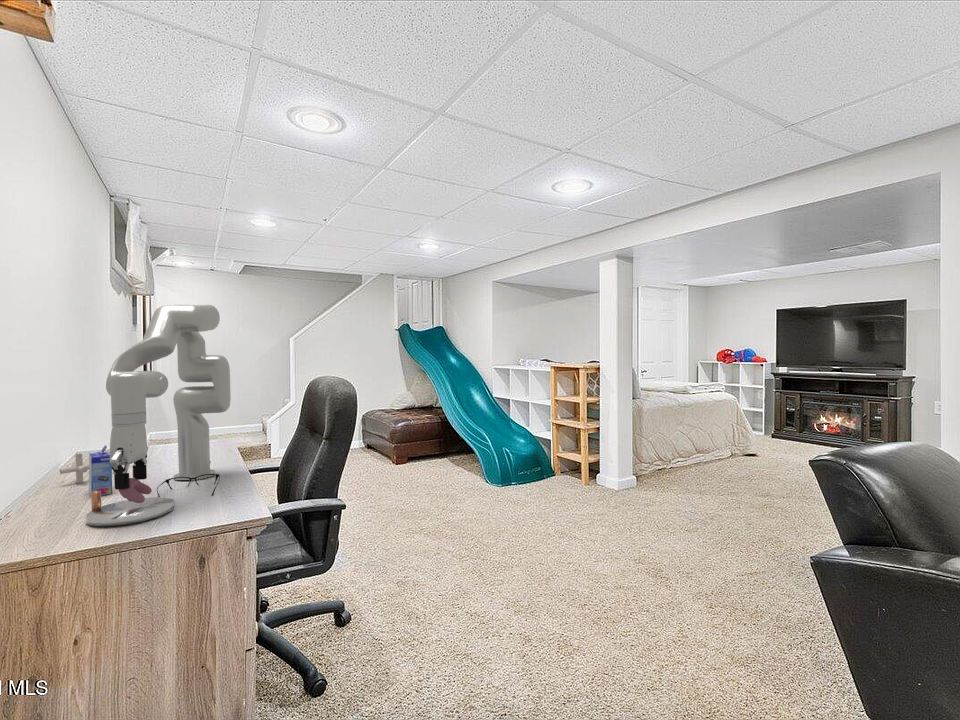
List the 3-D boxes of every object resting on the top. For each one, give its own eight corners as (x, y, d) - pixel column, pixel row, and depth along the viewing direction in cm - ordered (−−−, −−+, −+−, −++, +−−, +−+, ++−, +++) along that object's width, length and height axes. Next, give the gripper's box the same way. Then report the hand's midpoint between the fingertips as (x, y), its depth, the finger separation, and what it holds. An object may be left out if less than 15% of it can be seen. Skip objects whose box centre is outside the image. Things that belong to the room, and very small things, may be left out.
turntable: (111, 505, 138) (110, 482, 138) (185, 500, 142) (184, 478, 141) (68, 529, 119) (67, 502, 119) (154, 522, 123) (153, 497, 123)
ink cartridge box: (113, 494, 151) (112, 447, 151) (91, 497, 147) (89, 450, 147) (110, 487, 158) (109, 443, 158) (88, 491, 155) (87, 445, 154)
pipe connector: (92, 477, 172) (91, 449, 172) (103, 481, 166) (102, 452, 166) (56, 484, 164) (55, 454, 164) (65, 488, 158) (64, 458, 158)
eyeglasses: (222, 484, 162) (221, 472, 162) (218, 497, 147) (217, 483, 147) (163, 490, 155) (163, 478, 155) (153, 505, 141) (153, 491, 141)
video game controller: (136, 500, 135) (122, 479, 134) (153, 491, 137) (139, 470, 135) (127, 511, 126) (111, 488, 125) (145, 501, 128) (130, 478, 126)
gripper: (130, 415, 138) (132, 476, 138) (94, 425, 121) (96, 494, 121) (159, 414, 139) (161, 474, 140) (128, 423, 122) (130, 492, 123)
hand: (131, 483), depth 130 cm, fingers closed on video game controller, 8 cm apart
